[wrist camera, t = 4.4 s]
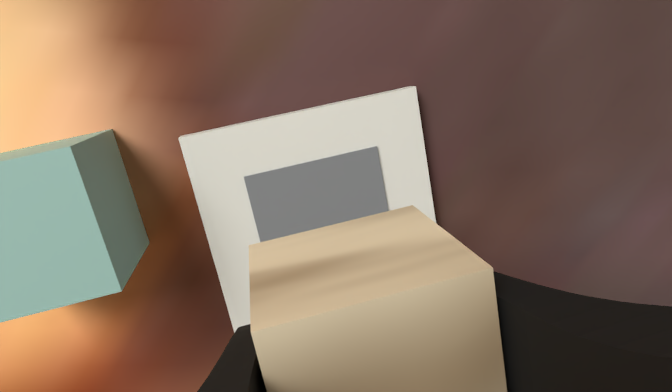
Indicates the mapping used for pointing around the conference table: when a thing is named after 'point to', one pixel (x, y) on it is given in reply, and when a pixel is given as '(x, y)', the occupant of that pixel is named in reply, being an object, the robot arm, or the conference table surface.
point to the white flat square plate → (304, 177)
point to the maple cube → (375, 309)
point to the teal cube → (66, 224)
